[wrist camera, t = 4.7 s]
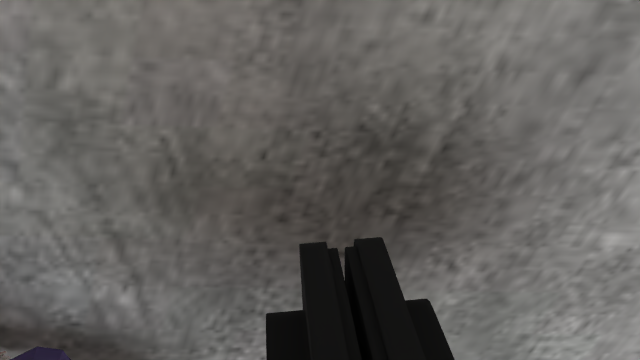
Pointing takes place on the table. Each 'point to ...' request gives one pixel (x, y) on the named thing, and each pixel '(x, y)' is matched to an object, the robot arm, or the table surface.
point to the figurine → (39, 354)
